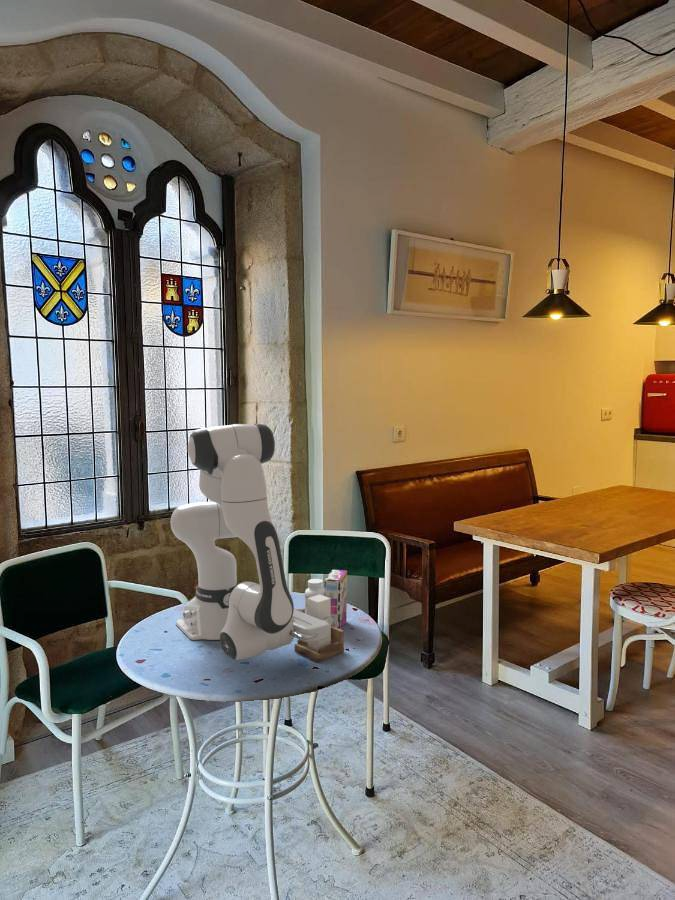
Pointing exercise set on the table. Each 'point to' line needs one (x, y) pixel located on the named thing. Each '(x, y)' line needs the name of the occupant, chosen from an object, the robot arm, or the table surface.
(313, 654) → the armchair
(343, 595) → the candy bar box
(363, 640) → the table surface
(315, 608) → the cream block
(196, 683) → the table surface
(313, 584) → the supplement bottle
